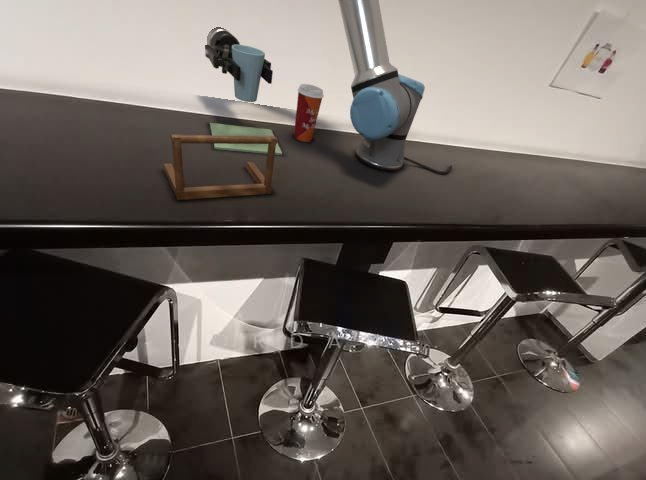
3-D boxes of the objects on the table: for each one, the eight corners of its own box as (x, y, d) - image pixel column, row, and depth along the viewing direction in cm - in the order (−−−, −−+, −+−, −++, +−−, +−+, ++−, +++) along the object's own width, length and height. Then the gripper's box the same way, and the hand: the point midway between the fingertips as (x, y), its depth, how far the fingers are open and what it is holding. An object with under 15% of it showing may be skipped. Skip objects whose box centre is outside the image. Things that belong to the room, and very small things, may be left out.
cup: (258, 106, 85) (262, 56, 78) (227, 98, 84) (228, 48, 77) (262, 97, 90) (267, 50, 83) (233, 90, 89) (235, 42, 82)
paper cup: (306, 145, 103) (315, 94, 94) (285, 135, 105) (293, 84, 96) (319, 139, 109) (329, 91, 99) (299, 130, 111) (307, 82, 101)
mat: (271, 131, 105) (271, 129, 105) (282, 155, 95) (282, 153, 94) (209, 124, 99) (209, 122, 98) (214, 149, 89) (214, 146, 88)
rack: (252, 168, 86) (256, 115, 77) (271, 193, 79) (278, 138, 70) (164, 171, 76) (157, 110, 67) (177, 200, 69) (172, 136, 61)
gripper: (257, 67, 100) (290, 96, 87) (185, 58, 90) (212, 90, 78) (259, 36, 95) (295, 62, 82) (184, 23, 85) (211, 50, 73)
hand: (255, 75), depth 80 cm, fingers closed on cup, 7 cm apart
